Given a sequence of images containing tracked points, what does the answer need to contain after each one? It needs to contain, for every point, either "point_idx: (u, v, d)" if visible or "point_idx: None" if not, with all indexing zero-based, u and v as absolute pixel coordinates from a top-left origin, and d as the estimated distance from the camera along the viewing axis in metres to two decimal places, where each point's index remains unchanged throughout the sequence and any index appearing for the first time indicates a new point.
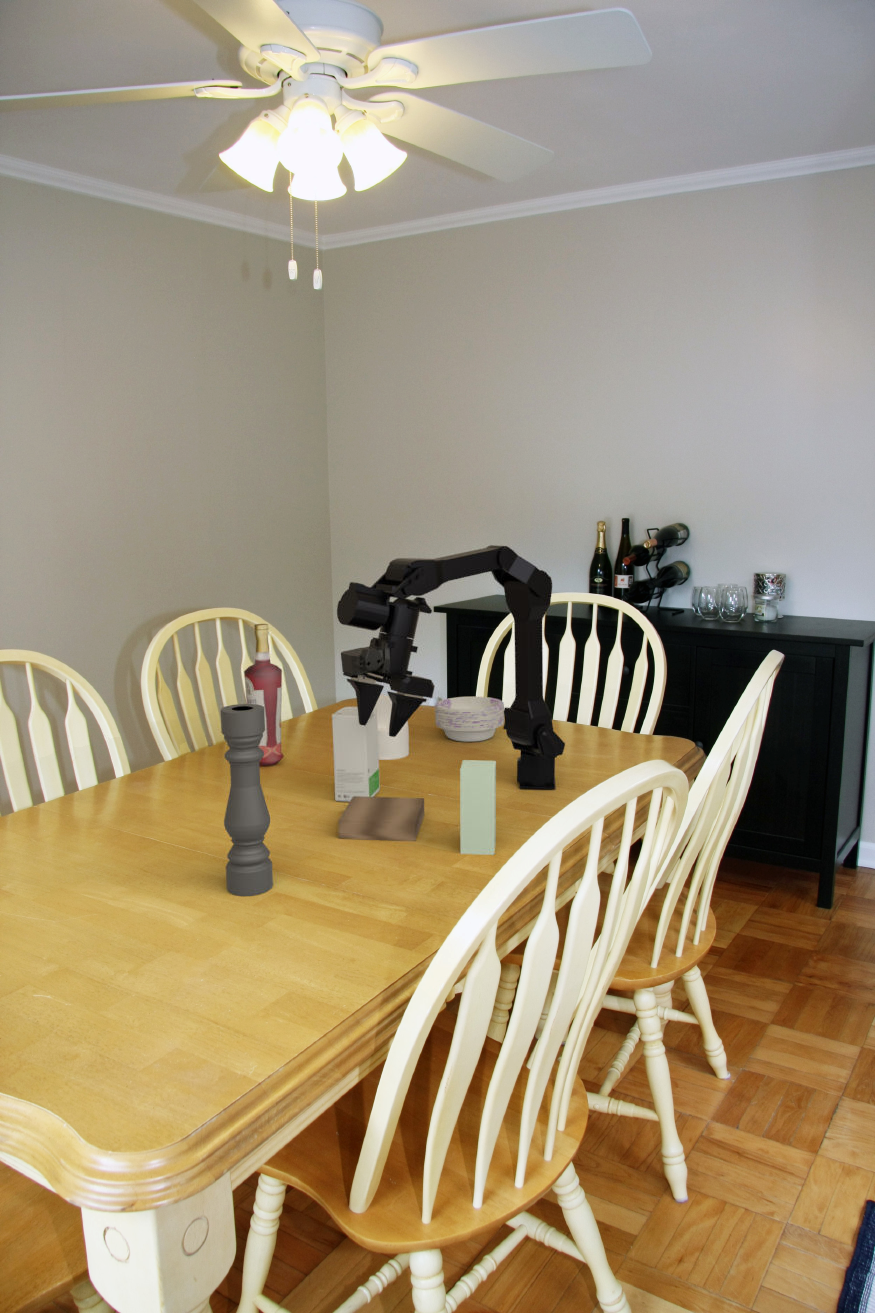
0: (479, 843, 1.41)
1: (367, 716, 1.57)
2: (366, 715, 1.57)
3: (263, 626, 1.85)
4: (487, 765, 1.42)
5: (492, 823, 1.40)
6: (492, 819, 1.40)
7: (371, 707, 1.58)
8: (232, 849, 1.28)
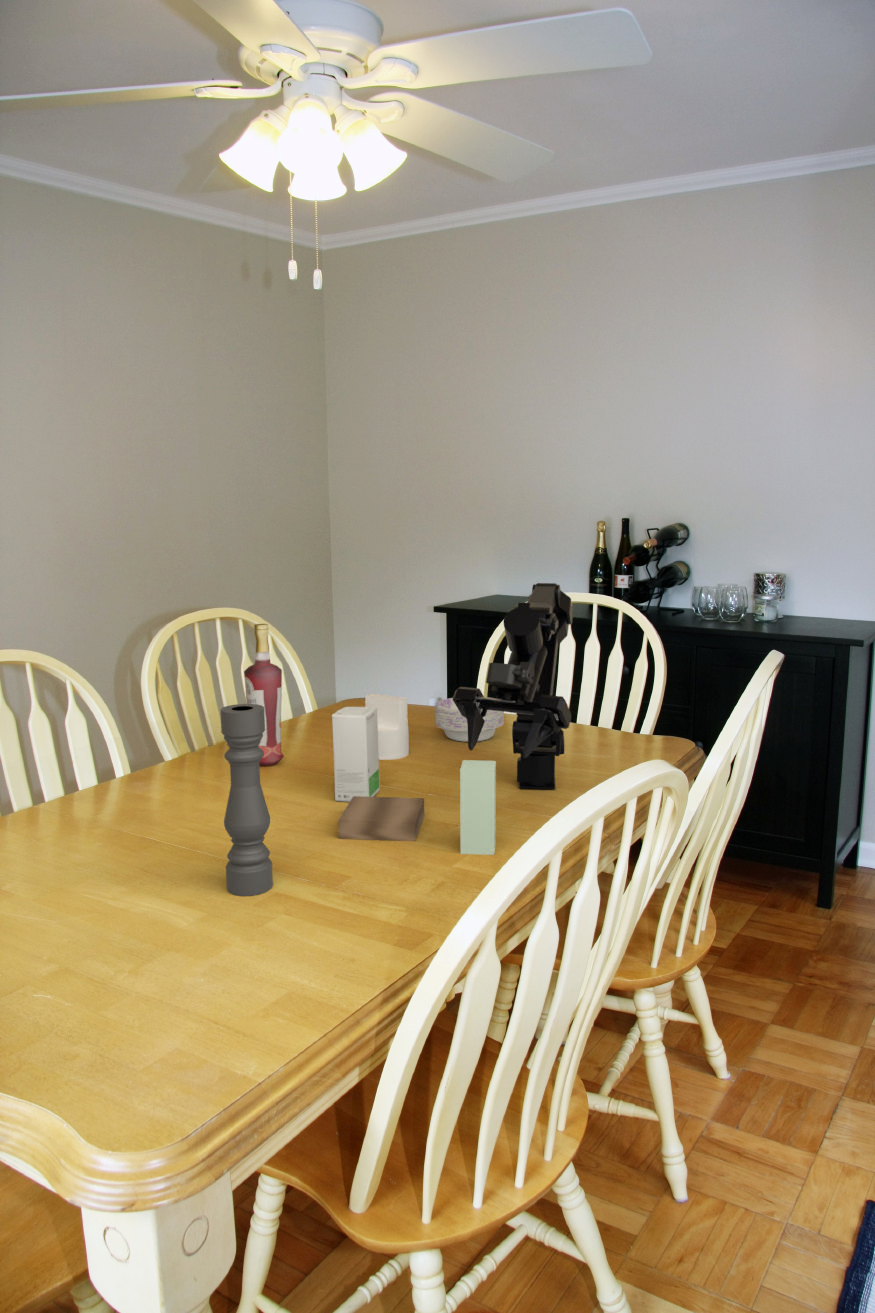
0: (479, 843, 1.41)
1: (475, 742, 1.52)
2: (474, 741, 1.52)
3: (263, 626, 1.85)
4: (487, 765, 1.42)
5: (492, 823, 1.40)
6: (492, 819, 1.40)
7: (477, 736, 1.53)
8: (232, 849, 1.28)
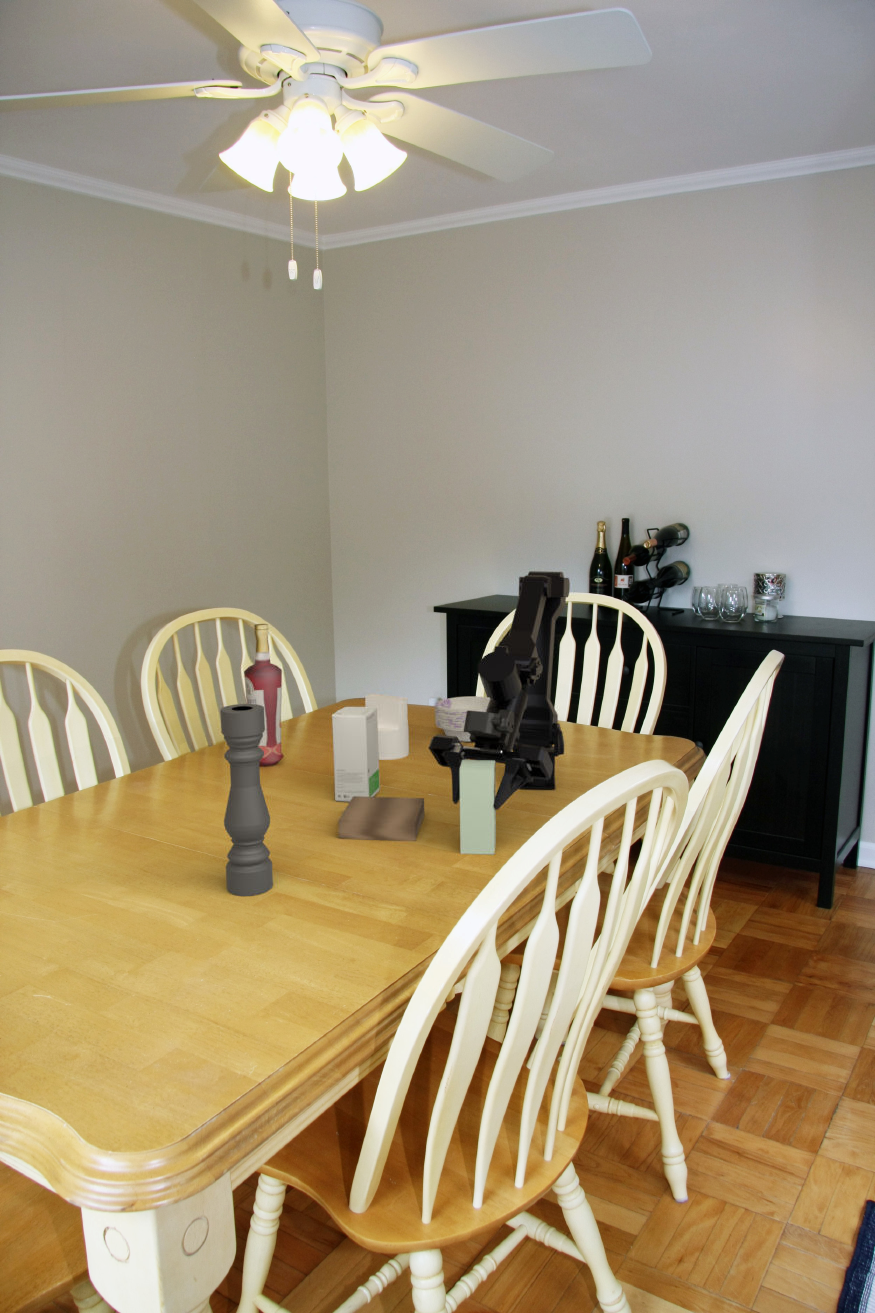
0: (478, 843, 1.41)
1: (459, 795, 1.44)
2: (459, 793, 1.44)
3: (263, 626, 1.85)
4: (486, 764, 1.42)
5: (492, 823, 1.40)
6: (492, 819, 1.40)
7: None
8: (232, 849, 1.28)
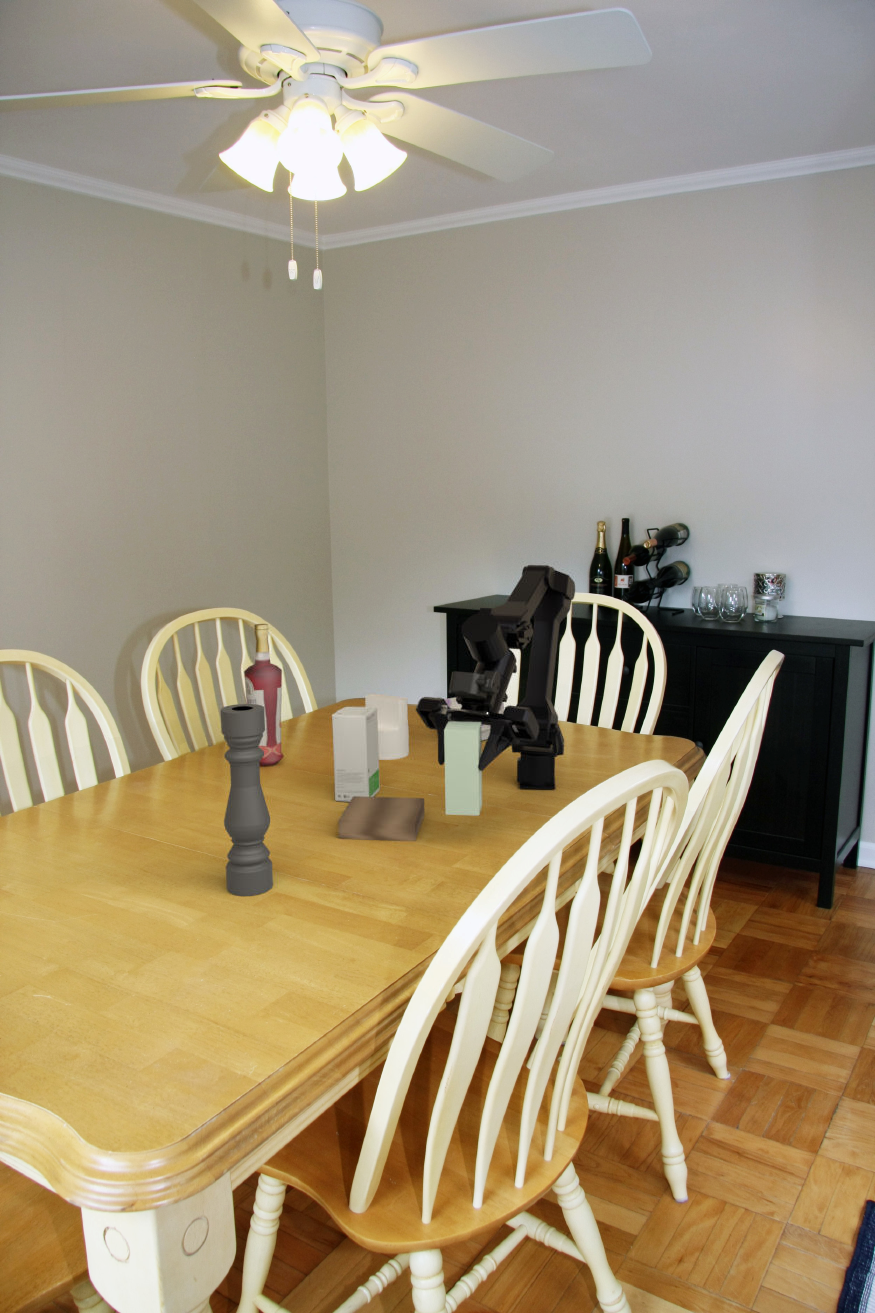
0: (463, 804, 1.41)
1: None
2: None
3: (263, 626, 1.85)
4: (471, 725, 1.41)
5: (477, 783, 1.40)
6: (477, 779, 1.40)
7: None
8: (232, 849, 1.28)
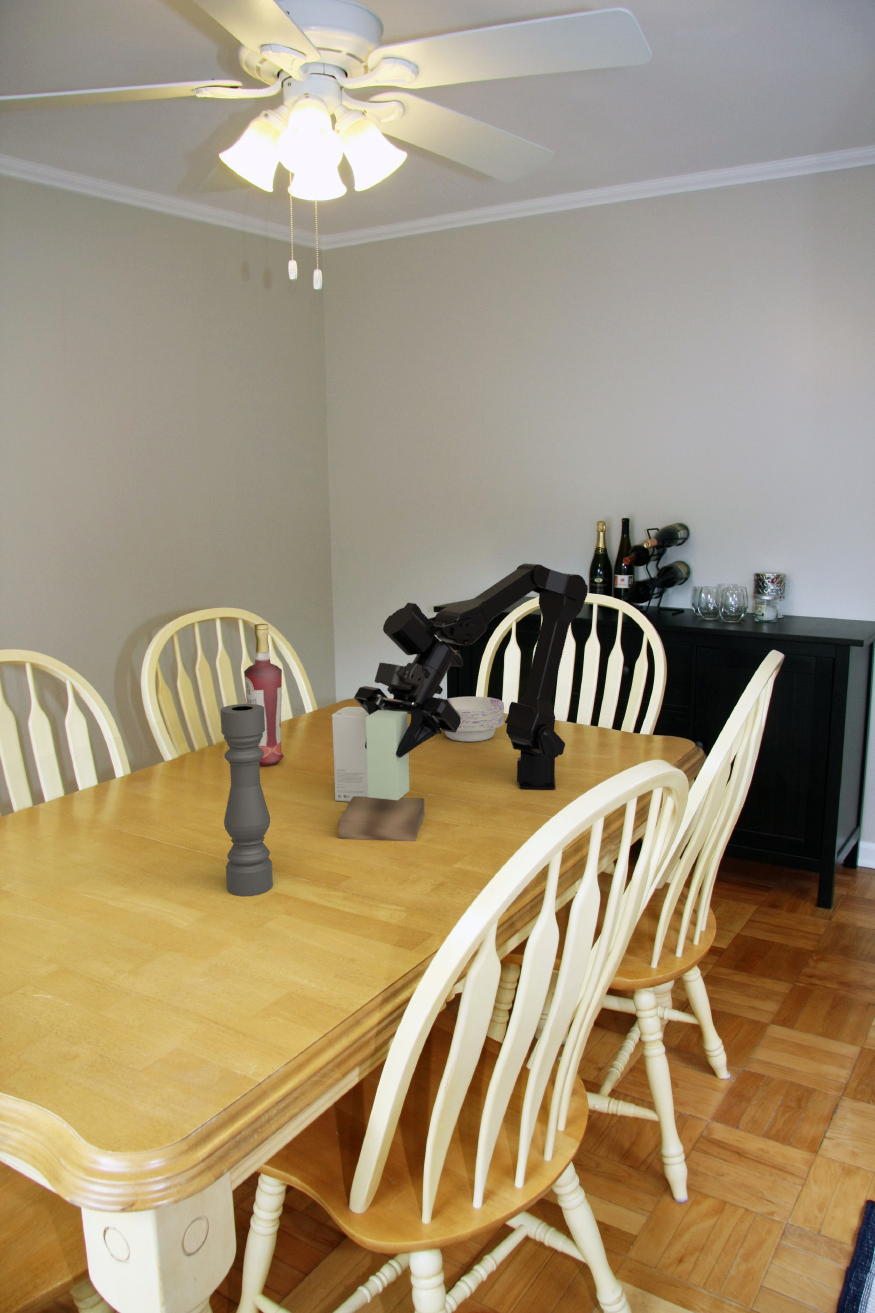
0: (384, 788, 1.49)
1: None
2: None
3: (263, 626, 1.85)
4: (394, 714, 1.49)
5: (395, 770, 1.48)
6: (395, 766, 1.48)
7: None
8: (232, 849, 1.28)
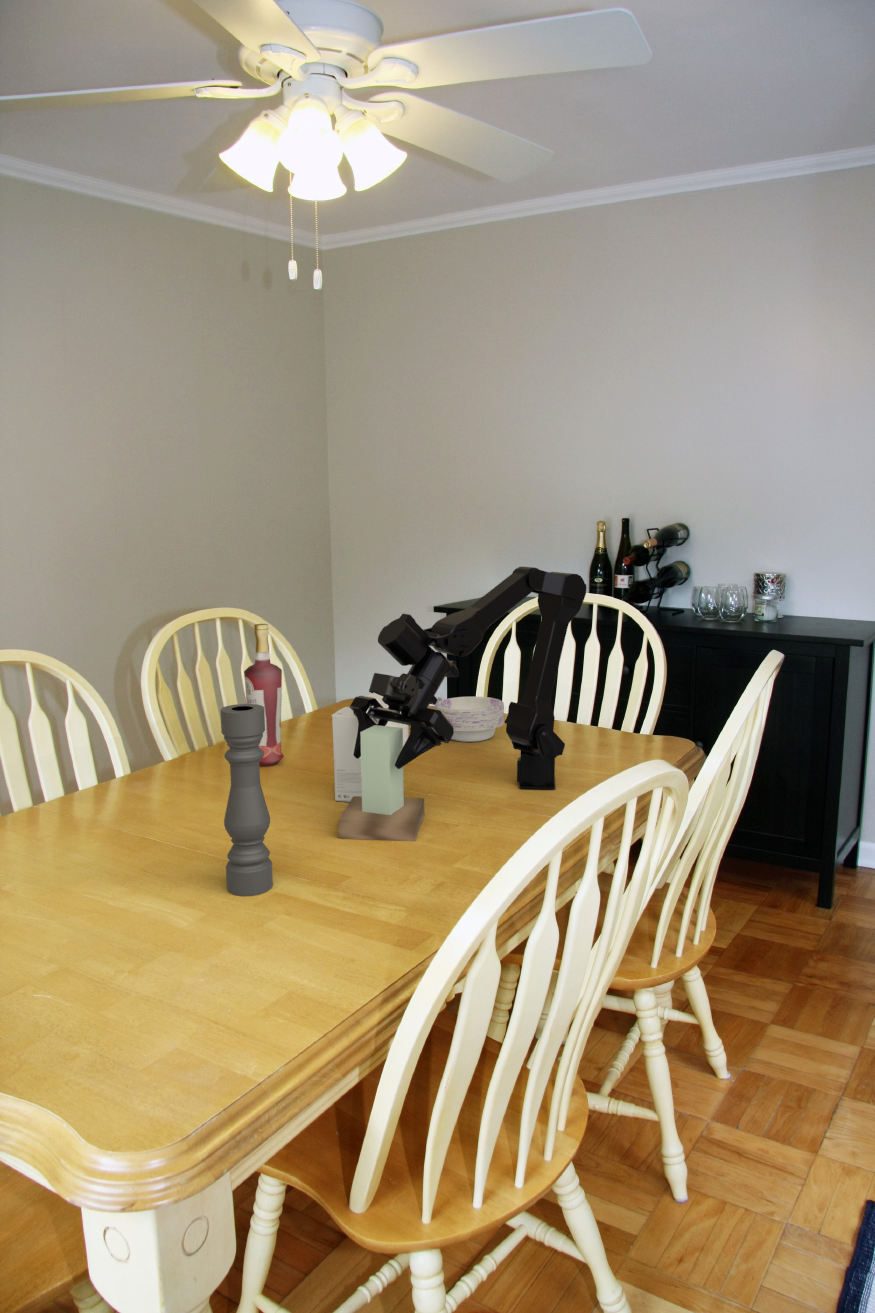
0: (377, 803, 1.51)
1: None
2: None
3: (263, 626, 1.85)
4: (389, 730, 1.51)
5: (388, 785, 1.49)
6: (388, 781, 1.49)
7: None
8: (232, 849, 1.28)
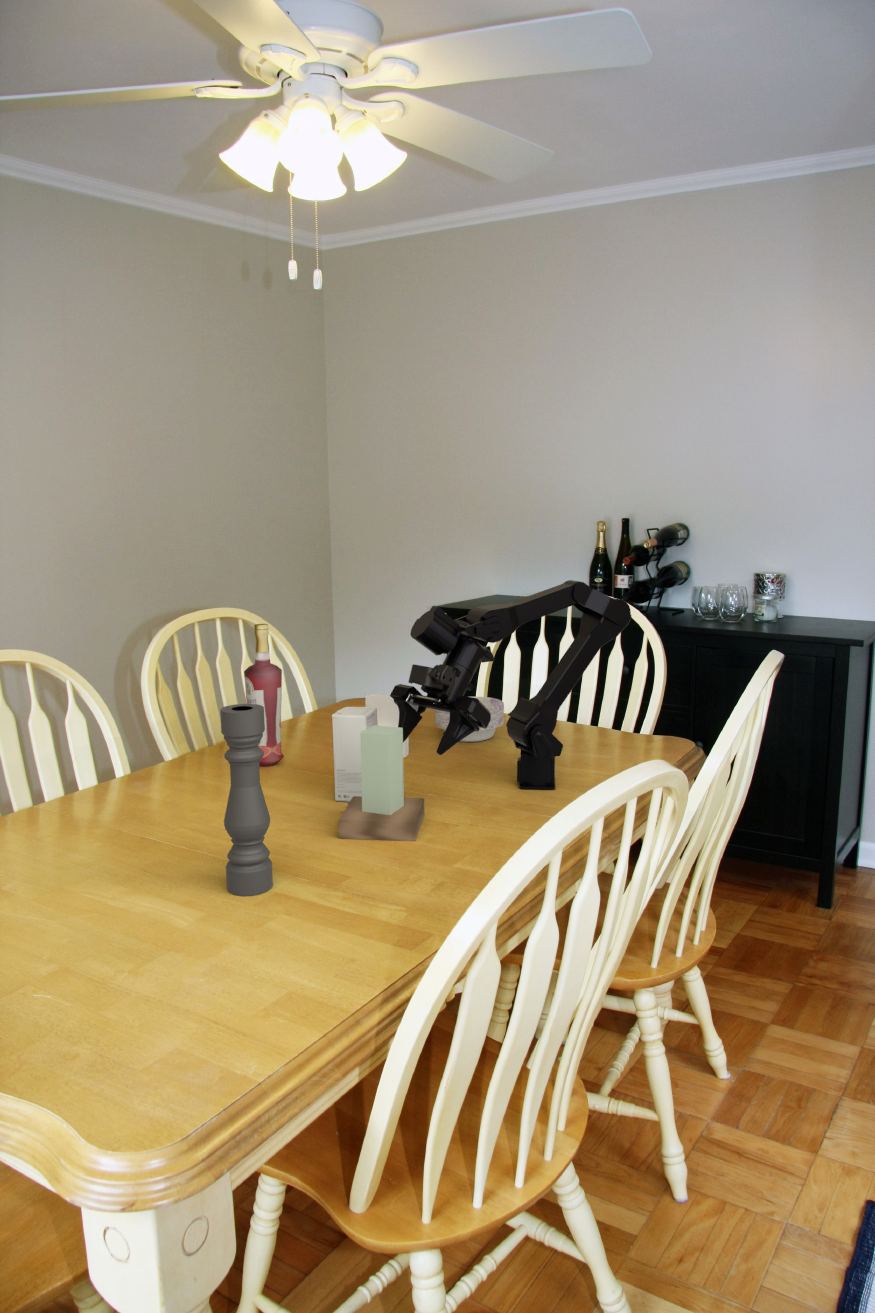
0: (377, 803, 1.51)
1: (404, 737, 1.63)
2: (404, 736, 1.63)
3: (263, 626, 1.85)
4: (389, 730, 1.51)
5: (388, 785, 1.49)
6: (388, 781, 1.49)
7: (409, 731, 1.64)
8: (232, 849, 1.28)
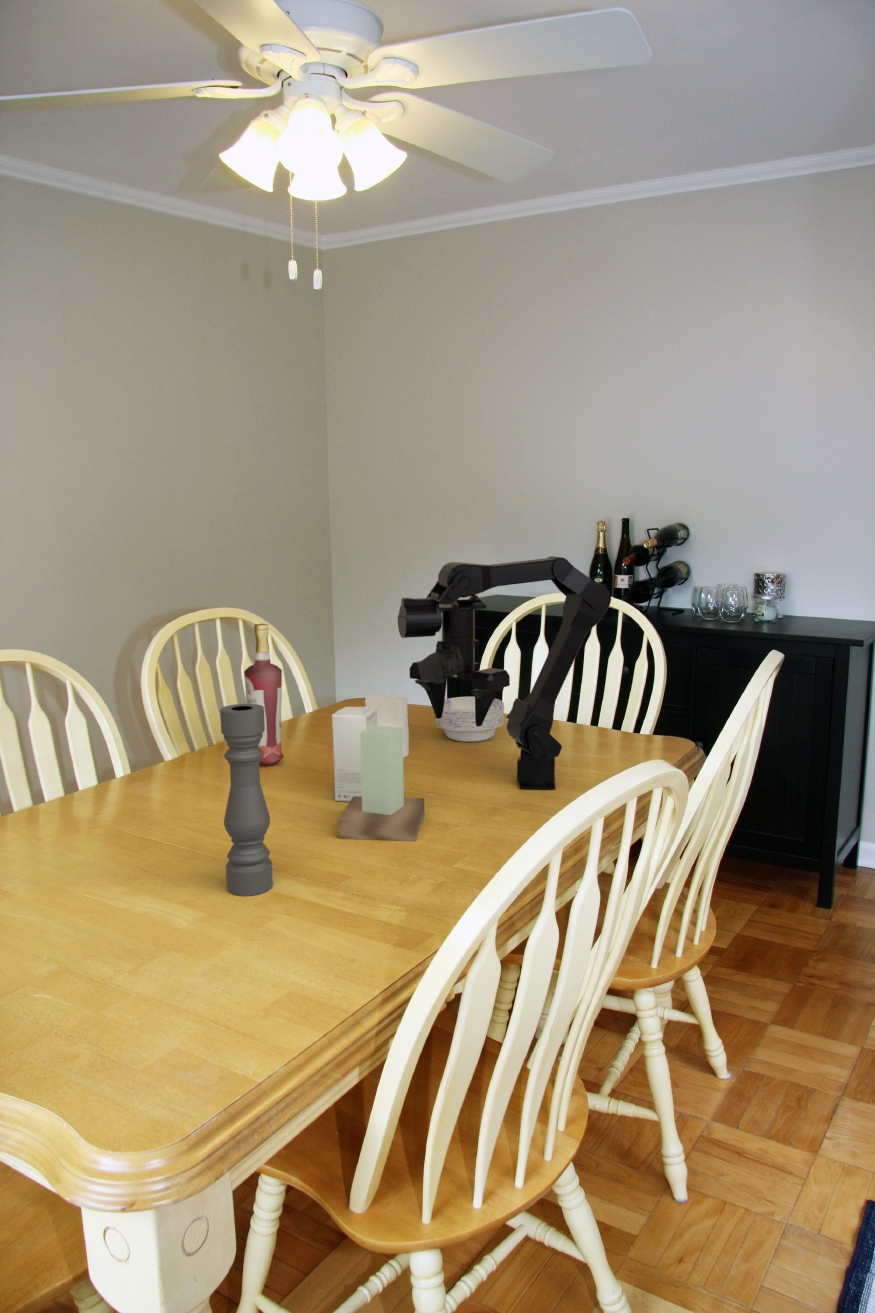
0: (377, 803, 1.51)
1: (441, 709, 1.72)
2: (440, 708, 1.71)
3: (263, 626, 1.85)
4: (389, 730, 1.51)
5: (388, 785, 1.49)
6: (388, 781, 1.49)
7: (442, 700, 1.72)
8: (232, 849, 1.28)
